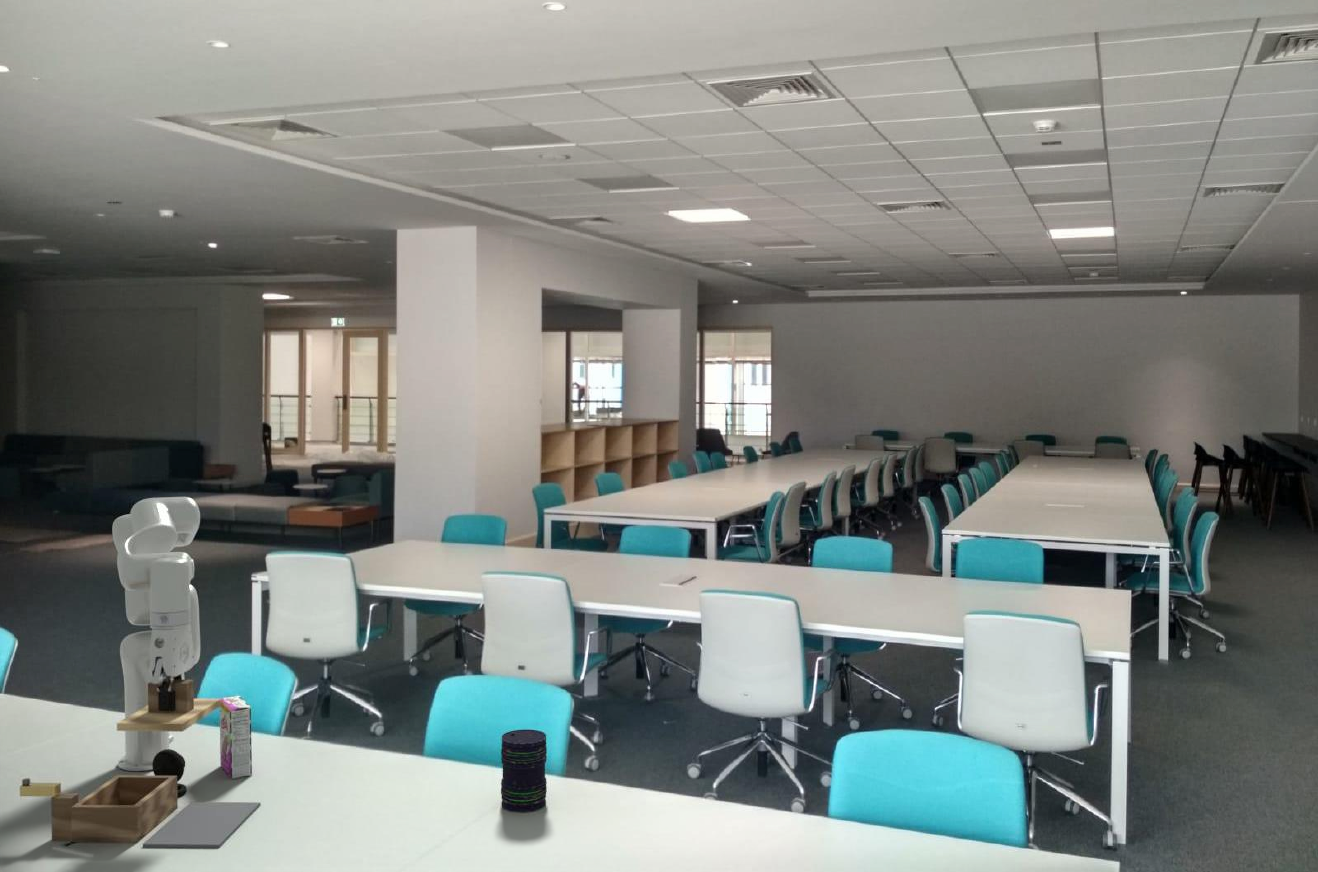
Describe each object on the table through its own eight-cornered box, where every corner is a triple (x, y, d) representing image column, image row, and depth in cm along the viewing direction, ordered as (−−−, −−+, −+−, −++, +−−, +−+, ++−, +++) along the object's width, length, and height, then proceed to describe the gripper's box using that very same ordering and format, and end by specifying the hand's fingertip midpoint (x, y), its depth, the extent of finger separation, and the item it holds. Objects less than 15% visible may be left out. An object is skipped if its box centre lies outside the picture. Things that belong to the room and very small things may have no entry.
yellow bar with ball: (25, 792, 219) (25, 777, 219) (60, 793, 219) (60, 778, 219) (19, 796, 217) (19, 781, 217) (55, 796, 217) (55, 781, 217)
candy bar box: (218, 766, 261) (218, 698, 260) (240, 762, 263) (240, 694, 263) (230, 780, 251) (229, 709, 251) (252, 776, 254) (252, 706, 254)
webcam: (195, 790, 245) (194, 746, 244) (170, 802, 238) (169, 757, 237) (167, 786, 247) (166, 742, 247) (141, 798, 240) (141, 752, 240)
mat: (190, 804, 236) (190, 802, 236) (260, 805, 236) (260, 802, 236) (142, 847, 214) (142, 844, 214) (219, 847, 214) (219, 844, 214)
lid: (160, 705, 234) (160, 670, 233) (221, 705, 233) (221, 670, 233) (117, 730, 216) (116, 693, 215) (182, 731, 215) (181, 693, 215)
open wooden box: (96, 807, 234) (96, 768, 234) (177, 808, 234) (177, 768, 234) (49, 842, 216) (49, 799, 216) (137, 842, 216) (137, 800, 216)
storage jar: (555, 800, 241) (555, 733, 240) (531, 816, 232) (531, 746, 231) (516, 793, 245) (516, 727, 244) (491, 808, 236) (491, 739, 235)
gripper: (169, 627, 215) (170, 720, 216) (206, 611, 232) (207, 697, 232) (131, 627, 216) (132, 719, 216) (171, 610, 232) (172, 697, 233)
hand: (171, 707), depth 224 cm, fingers closed on lid, 3 cm apart
